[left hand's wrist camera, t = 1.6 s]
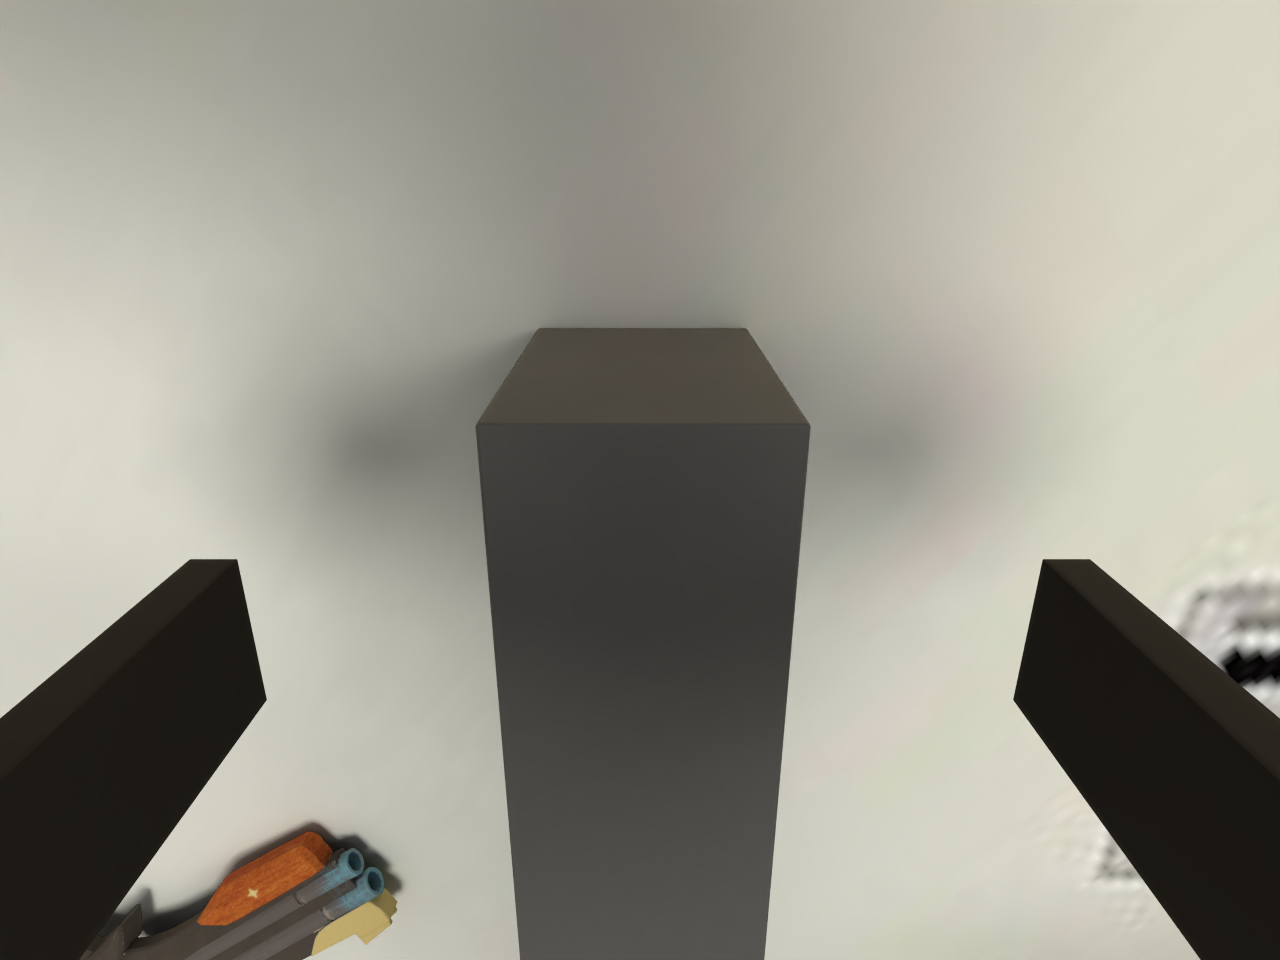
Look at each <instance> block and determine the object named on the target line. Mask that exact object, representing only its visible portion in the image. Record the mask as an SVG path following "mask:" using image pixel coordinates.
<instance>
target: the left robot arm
mask: <svg viewBox="0 0 1280 960" xmlns="http://www.w3.org/2000/svg"><path fill="white" fill-rule="evenodd" d="M266 700H267V699H266V694H265V689H264V685H263V680H262V675H261V670H260V666H259V661H258V656H257V651H256V647H255V642H254V637H253V632H252V628H251V623H250V618H249V613H248V609H247V604H246V599H245V594H244V590H243V585H242V580H241V575H240V571H239V566H238V561H237V559H190V560H189V561H188V562H186V563H185V564H184V565H183V566H182V567H180V568H179V569H178V570H177V571H176V572H174V573H173V574H172V575H171V576H170V577H169V578H167V579H166V580H165V581H164V582H163V583H161V584H160V585H159V586H158V587H157V588H155V589H154V590H153V591H152V592H151V593H149V594H148V595H147V596H146V597H145V598H143V599H142V600H141V601H140V602H139V603H137V604H136V605H135V606H134V607H133V608H132V609H130V610H129V611H128V612H127V613H126V614H124V615H123V616H122V617H121V618H120V619H118V620H117V621H116V622H115V623H114V624H112V625H111V626H110V627H109V628H108V629H106V630H105V631H104V632H103V633H102V634H100V635H99V636H98V637H97V638H96V639H95V640H93V641H92V642H91V643H90V644H89V645H87V646H86V647H85V648H84V649H83V650H81V651H80V652H79V653H78V654H77V655H75V656H74V657H73V658H72V659H71V660H69V661H68V662H67V663H66V664H65V665H64V666H62V667H61V668H60V669H59V670H58V671H56V672H55V673H54V674H53V675H52V676H50V677H49V678H48V679H47V680H46V681H44V682H43V683H42V684H41V685H40V686H38V687H37V688H36V689H35V690H34V691H32V692H31V693H30V694H29V695H28V696H27V697H25V698H24V699H23V700H22V701H21V702H19V703H18V704H17V705H16V706H15V707H13V708H12V709H11V710H10V711H9V712H7V713H6V714H5V715H4V716H3V717H1V718H0V960H79V959H80V958H81V957H82V955H83V954H84V952H85V951H86V950H87V948H88V947H89V946H90V944H91V943H92V941H93V940H94V939H95V937H96V936H97V934H98V933H99V932H100V930H101V929H102V928H103V926H104V925H105V923H106V922H107V921H108V919H109V918H110V916H111V915H112V914H113V912H114V911H115V909H116V908H117V907H118V905H119V904H120V903H121V901H122V900H123V898H124V897H125V896H126V894H127V893H128V891H129V890H130V889H131V887H132V886H133V885H134V883H135V882H136V880H137V879H138V878H139V876H140V875H141V873H142V872H143V871H144V869H145V868H146V867H147V865H148V864H149V862H150V861H151V860H152V858H153V857H154V855H155V854H156V853H157V851H158V850H159V848H160V847H161V846H162V844H163V843H164V842H165V840H166V839H167V837H168V836H169V835H170V833H171V832H172V830H173V829H174V828H175V826H176V825H177V824H178V822H179V821H180V819H181V818H182V817H183V815H184V814H185V812H186V811H187V810H188V808H189V807H190V806H191V804H192V803H193V801H194V800H195V799H196V797H197V796H198V794H199V793H200V792H201V790H202V789H203V787H204V786H205V785H206V783H207V782H208V781H209V779H210V778H211V776H212V775H213V774H214V772H215V771H216V769H217V768H218V767H219V765H220V764H221V763H222V761H223V760H224V758H225V757H226V756H227V754H228V753H229V751H230V750H231V749H232V747H233V746H234V745H235V743H236V742H237V740H238V739H239V738H240V736H241V735H242V733H243V732H244V731H245V729H246V728H247V726H248V725H249V724H250V722H251V721H252V720H253V718H254V717H255V715H256V714H257V713H258V711H259V710H260V708H261V707H262V706H263V704H264V703H265V702H266ZM1013 700H1014V702H1015V703H1016V704H1017V706H1018V707H1019V708H1020V710H1021V711H1022V713H1023V714H1024V715H1025V717H1026V718H1027V720H1028V721H1029V722H1030V724H1031V725H1032V726H1033V728H1034V729H1035V731H1036V732H1037V733H1038V735H1039V736H1040V738H1041V739H1042V740H1043V742H1044V743H1045V745H1046V746H1047V747H1048V749H1049V750H1050V751H1051V753H1052V754H1053V756H1054V757H1055V758H1056V760H1057V761H1058V763H1059V764H1060V765H1061V767H1062V768H1063V769H1064V771H1065V772H1066V774H1067V775H1068V776H1069V778H1070V779H1071V781H1072V782H1073V783H1074V785H1075V786H1076V787H1077V789H1078V790H1079V792H1080V793H1081V794H1082V796H1083V797H1084V799H1085V800H1086V801H1087V803H1088V804H1089V806H1090V807H1091V808H1092V810H1093V811H1094V812H1095V814H1096V815H1097V817H1098V818H1099V819H1100V821H1101V822H1102V824H1103V825H1104V826H1105V828H1106V829H1107V830H1108V832H1109V833H1110V835H1111V836H1112V837H1113V839H1114V840H1115V842H1116V843H1117V844H1118V846H1119V847H1120V848H1121V850H1122V851H1123V853H1124V854H1125V855H1126V857H1127V858H1128V860H1129V861H1130V862H1131V864H1132V865H1133V867H1134V868H1135V869H1136V871H1137V872H1138V873H1139V875H1140V876H1141V878H1142V879H1143V880H1144V882H1145V883H1146V885H1147V886H1148V887H1149V889H1150V890H1151V891H1152V893H1153V894H1154V896H1155V897H1156V898H1157V900H1158V901H1159V903H1160V904H1161V905H1162V907H1163V908H1164V909H1165V911H1166V912H1167V914H1168V915H1169V916H1170V918H1171V919H1172V921H1173V922H1174V923H1175V925H1176V926H1177V928H1178V929H1179V930H1180V932H1181V933H1182V934H1183V936H1184V937H1185V939H1186V940H1187V941H1188V943H1189V944H1190V946H1191V947H1192V948H1193V950H1194V951H1195V952H1196V954H1197V955H1198V957H1199V958H1200V959H1201V960H1280V718H1279V717H1277V716H1276V715H1275V714H1274V713H1273V712H1271V711H1270V710H1269V709H1268V708H1267V707H1265V706H1264V705H1263V704H1262V703H1261V702H1259V701H1258V700H1257V699H1256V698H1255V697H1253V696H1252V695H1251V694H1250V693H1249V692H1248V691H1246V690H1245V689H1244V688H1243V687H1242V686H1240V685H1239V684H1238V683H1237V682H1236V681H1234V680H1233V679H1232V678H1231V677H1230V676H1228V675H1227V674H1226V673H1225V672H1224V671H1222V670H1221V669H1220V668H1219V667H1218V666H1216V665H1215V664H1214V663H1213V662H1212V661H1211V660H1209V659H1208V658H1207V657H1206V656H1205V655H1203V654H1202V653H1201V652H1200V651H1199V650H1197V649H1196V648H1195V647H1194V646H1193V645H1191V644H1190V643H1189V642H1188V641H1187V640H1185V639H1184V638H1183V637H1182V636H1181V635H1179V634H1178V633H1177V632H1176V631H1175V630H1174V629H1172V628H1171V627H1170V626H1169V625H1168V624H1166V623H1165V622H1164V621H1163V620H1162V619H1160V618H1159V617H1158V616H1157V615H1156V614H1154V613H1153V612H1152V611H1151V610H1150V609H1148V608H1147V607H1146V606H1145V605H1144V604H1143V603H1141V602H1140V601H1139V600H1138V599H1137V598H1135V597H1134V596H1133V595H1132V594H1131V593H1129V592H1128V591H1127V590H1126V589H1125V588H1123V587H1122V586H1121V585H1120V584H1119V583H1117V582H1116V581H1115V580H1114V579H1113V578H1111V577H1110V576H1109V575H1108V574H1107V573H1106V572H1104V571H1103V570H1102V569H1101V568H1100V567H1098V566H1097V565H1096V564H1095V563H1094V562H1092V561H1091V560H1090V559H1043V561H1042V566H1041V571H1040V575H1039V580H1038V585H1037V590H1036V594H1035V599H1034V604H1033V609H1032V613H1031V618H1030V623H1029V628H1028V632H1027V637H1026V642H1025V647H1024V651H1023V656H1022V661H1021V666H1020V670H1019V675H1018V680H1017V685H1016V689H1015V694H1014V699H1013Z"/></svg>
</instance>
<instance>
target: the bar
mask: <svg viewBox="0 0 1280 960" xmlns="http://www.w3.org/2000/svg"><path fill="white" fill-rule="evenodd" d="M476 436H477V448H478V460H479V472H480V484H481V496H482V508H483V520H484V532H485V544H486V556H487V568H488V580H489V592H490V604H491V616H492V627H493V639H494V651H495V663H496V675H497V687H498V699H499V711H500V723H501V735H502V747H503V759H504V771H505V783H506V795H507V807H508V819H509V831H510V843H511V855H512V867H513V878H514V890H515V902H516V914H517V926H518V938H519V950H520V960H764V956H765V945H766V933H767V921H768V910H769V898H770V887H771V875H772V864H773V852H774V841H775V829H776V818H777V806H778V795H779V783H780V772H781V760H782V749H783V737H784V726H785V714H786V703H787V691H788V680H789V668H790V657H791V645H792V633H793V622H794V610H795V599H796V587H797V576H798V564H799V553H800V541H801V530H802V518H803V507H804V495H805V484H806V472H807V461H808V449H809V438H810V424H809V423H808V421H807V420H806V418H805V416H804V415H803V413H802V412H801V410H800V409H799V407H798V406H797V404H796V403H795V401H794V400H793V398H792V397H791V395H790V394H789V392H788V391H787V389H786V388H785V386H784V385H783V383H782V382H781V380H780V379H779V377H778V376H777V374H776V373H775V371H774V369H773V368H772V366H771V365H770V363H769V362H768V360H767V359H766V357H765V356H764V354H763V353H762V351H761V350H760V348H759V347H758V345H757V344H756V342H755V341H754V339H753V338H752V336H751V335H750V333H749V332H748V330H747V329H561V328H540V329H538V330H537V332H536V333H535V335H534V336H533V338H532V339H531V341H530V343H529V344H528V346H527V347H526V349H525V350H524V352H523V353H522V355H521V356H520V358H519V359H518V361H517V363H516V364H515V366H514V367H513V369H512V370H511V372H510V373H509V375H508V376H507V378H506V379H505V381H504V383H503V384H502V386H501V387H500V389H499V390H498V392H497V393H496V395H495V396H494V398H493V399H492V401H491V403H490V404H489V406H488V407H487V409H486V410H485V412H484V413H483V415H482V416H481V418H480V419H479V421H478V423H477V424H476Z"/></svg>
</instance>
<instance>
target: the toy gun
mask: <svg viewBox="0 0 1280 960" xmlns="http://www.w3.org/2000/svg"><path fill="white" fill-rule="evenodd" d="M363 869H364V859H363V856H362V854H361V853H360V852H359V851H358V850H356V849H354V848H351V849H349V850H347V851H345V850H344V849H343V848H341V849H339V850H337V851H335V852H333V851H332V850H331V848H330V847H329V846H328V845H327V844H326V842H325V841H324V840H323V839H322V838H321V837H320V835H318V834H316V833H314V832H311V831H308V832H306V833H304V834H302V835H300V836H298V837H296V838H294V839H293V840H291V841H289V842H287V843H285V844H283V845H281V846H279V847H277V848H275V849H274V850H272V851H270V852H268V853H266V854H265V855H263V856H261V857H259V858H257V859H255V860H254V861H252V862H250V863H248V864H246V865H244V866H243V867H241V868H239V869H237V870H235V871H234V872H232V873H231V874H229V875H228V876H227V877H226V878H225V879H224V881H223V882H222V883H221V885H220V886H219V888H218V889H217V891H216V892H215V893H214V895H213V897H212V898H211V900H210V901H209V903H208V904H207V906H206V907H205V909H204V911H202V912H200V913H198V914H197V915H195V916H193V917H191V918H190V919H188V920H186V921H184V922H183V923H181V924H179V925H178V926H176V927H174V928H172V929H169V930H167V931H164V932H161V933H158V934H155V935H152V936H148V937H141V938H138V936H139V935H140V934H141V930H142V912H141V905H140V904H137V905H136V906H135V907H134V908H133V909H132V911H131V912H130V913H129V914H128V915H127V917H126V918H125V919H124V920H123V922H122V923H121V924H120V925H119V926H118V927H117V928H115V929H114V930H113V931H112V932H111V933H110V934H108V935H107V936H105V937H102V936H98V935H97V936H96V937H95V939H94V940H93V941H92V943H91V944H90V946H89V947H88V948H87V950H86V951H85V952H84V954H83V955H82V957H81V958H80V959H79V960H303V959H305V958H307V957H309V956H310V955H311V956H313V955H315V954H317V953H319V952H321V951H323V950H325V949H327V948H328V947H330V946H332V945H334V944H336V943H338V942H340V941H342V940H344V939H346V938H348V937H350V936H352V935H353V934H356V935H357V936H358V937H359V938H360V939H361V940H362V941H363V942H364V943H365V944H367V943H369V942H370V941H371V940H372V939H374V938H375V937H376V936H377V935H379V934H380V933H381V932H382V931H383V930H385V929H386V928H387V927H388V926H390V925H391V924H392V920H391V916H392V915H393V914H395V913H396V911H397V908H396V907H395V906H396V904H397V901H396V900H395V898H394V897H393V896H392V895H391V894H390V893H389V891H387V890H386V889H385V888H384V885H385V883H384V878H383V875H382V873H381V872H380V871H379V870H378V869H377V868H376V867H368V868H367V869H365V870H363Z"/></svg>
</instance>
